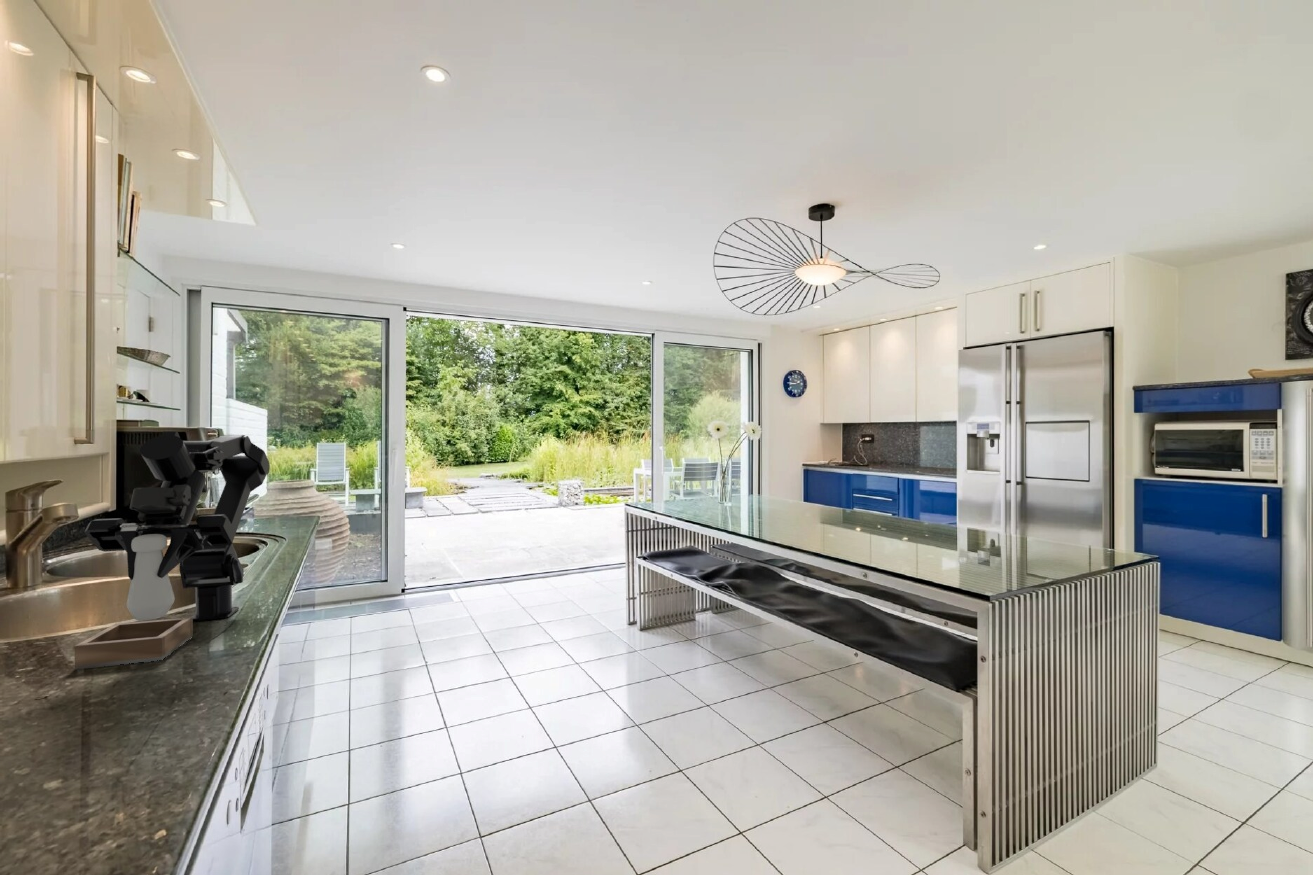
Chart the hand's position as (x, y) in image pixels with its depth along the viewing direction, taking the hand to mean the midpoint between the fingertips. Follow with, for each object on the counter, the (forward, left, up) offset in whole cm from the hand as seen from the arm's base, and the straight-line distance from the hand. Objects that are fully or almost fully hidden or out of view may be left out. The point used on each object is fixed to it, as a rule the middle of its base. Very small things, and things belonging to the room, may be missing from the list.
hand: (145, 577), depth 92 cm
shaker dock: (-6, -4, -13) cm, 15 cm away
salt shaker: (-1, 0, -7) cm, 7 cm away
